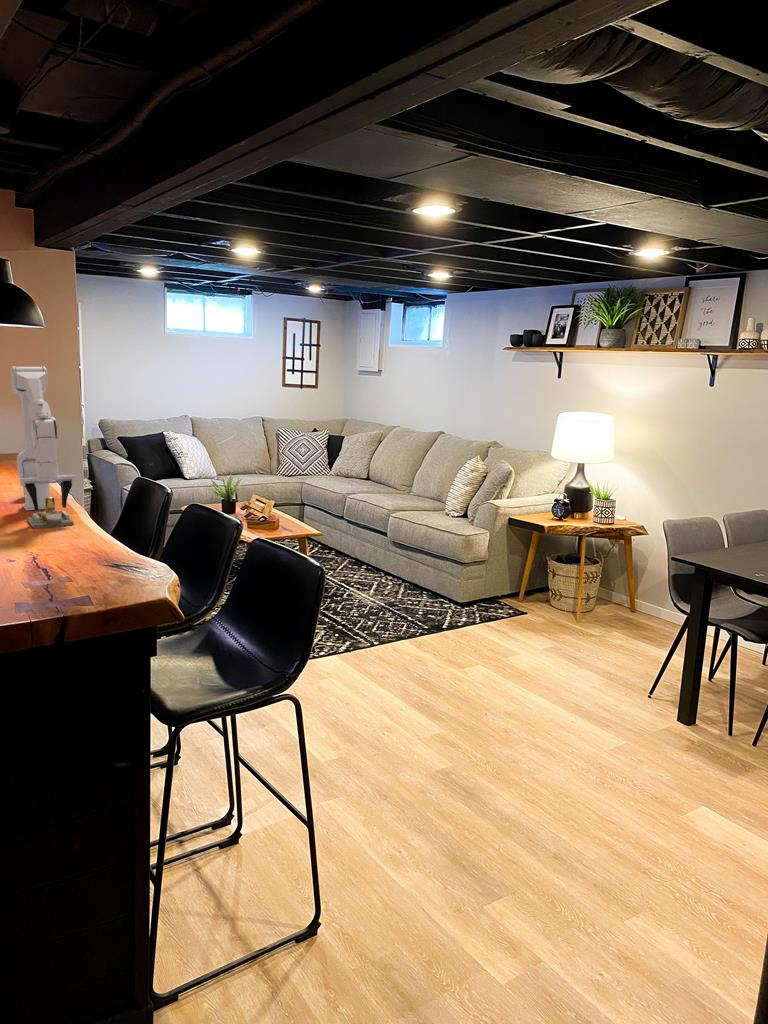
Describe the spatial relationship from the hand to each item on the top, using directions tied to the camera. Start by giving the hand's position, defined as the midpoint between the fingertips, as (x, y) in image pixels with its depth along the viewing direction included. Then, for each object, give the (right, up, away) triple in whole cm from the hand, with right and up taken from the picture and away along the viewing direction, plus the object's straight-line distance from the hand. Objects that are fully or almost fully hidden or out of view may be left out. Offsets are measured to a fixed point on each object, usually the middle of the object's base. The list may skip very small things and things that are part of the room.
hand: (50, 508), depth 220 cm
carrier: (0, -4, -1) cm, 4 cm away
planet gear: (0, -3, +1) cm, 3 cm away
